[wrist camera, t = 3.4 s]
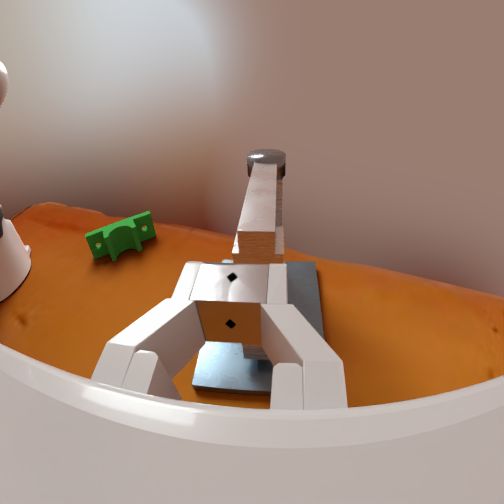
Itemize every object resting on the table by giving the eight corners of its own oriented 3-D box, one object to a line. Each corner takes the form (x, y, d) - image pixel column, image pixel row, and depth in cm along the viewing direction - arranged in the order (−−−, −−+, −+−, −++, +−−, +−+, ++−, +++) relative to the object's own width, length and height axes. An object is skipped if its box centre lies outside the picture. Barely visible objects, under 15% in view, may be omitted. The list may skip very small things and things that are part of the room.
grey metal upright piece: (240, 370, 24) (221, 226, 15) (254, 266, 36) (248, 149, 27) (280, 372, 23) (290, 227, 14) (282, 267, 35) (285, 149, 26)
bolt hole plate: (194, 389, 23) (191, 383, 22) (223, 265, 37) (222, 259, 37) (326, 395, 22) (328, 390, 21) (314, 267, 36) (315, 260, 36)
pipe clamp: (96, 269, 38) (85, 245, 35) (94, 257, 41) (85, 233, 38) (160, 244, 43) (154, 219, 40) (155, 233, 45) (148, 210, 42)
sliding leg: (243, 365, 24) (229, 254, 16) (246, 337, 26) (237, 225, 19) (278, 366, 24) (285, 255, 16) (279, 338, 26) (284, 225, 19)
